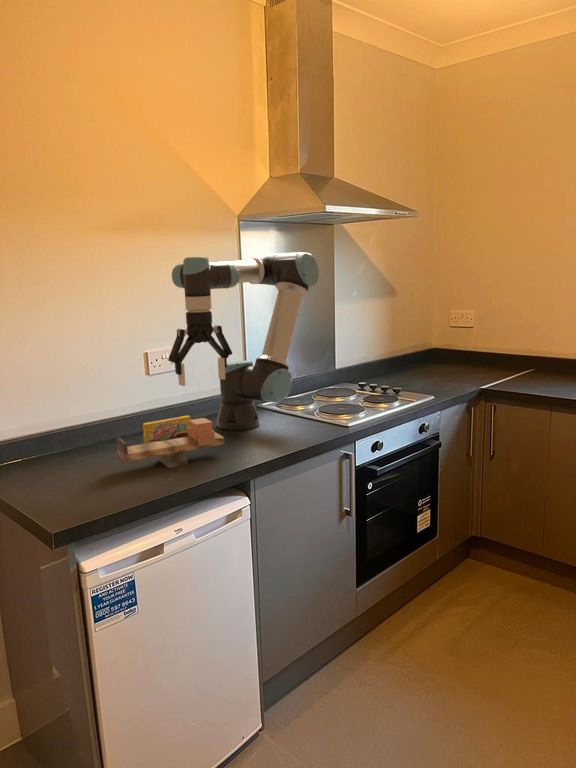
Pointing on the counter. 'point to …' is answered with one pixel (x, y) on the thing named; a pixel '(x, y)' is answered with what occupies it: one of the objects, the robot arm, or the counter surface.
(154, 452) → the beam
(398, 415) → the counter surface
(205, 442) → the block
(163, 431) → the candy box
